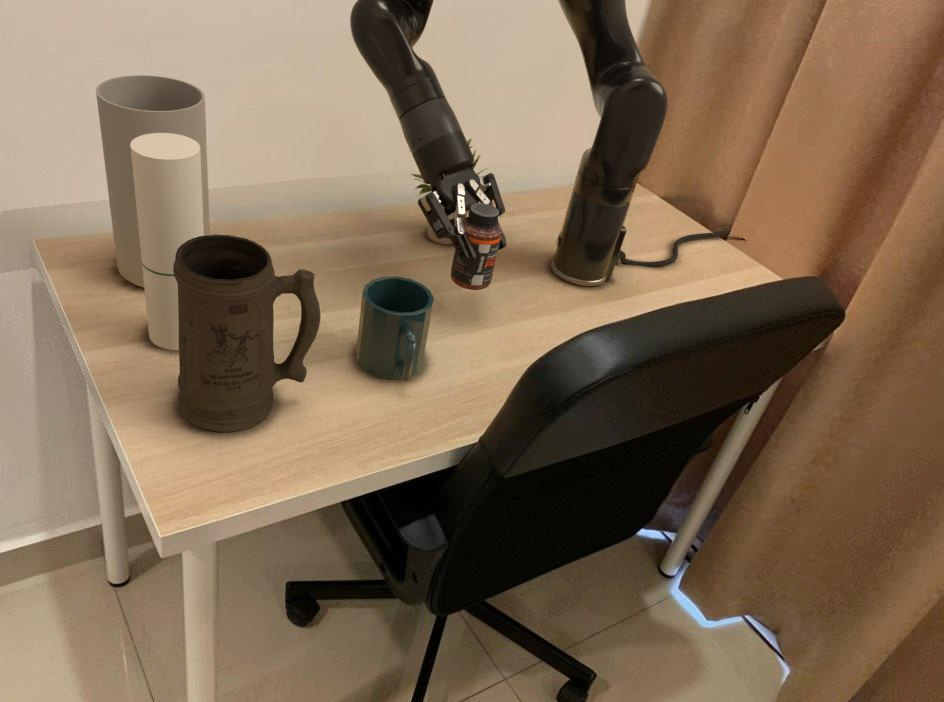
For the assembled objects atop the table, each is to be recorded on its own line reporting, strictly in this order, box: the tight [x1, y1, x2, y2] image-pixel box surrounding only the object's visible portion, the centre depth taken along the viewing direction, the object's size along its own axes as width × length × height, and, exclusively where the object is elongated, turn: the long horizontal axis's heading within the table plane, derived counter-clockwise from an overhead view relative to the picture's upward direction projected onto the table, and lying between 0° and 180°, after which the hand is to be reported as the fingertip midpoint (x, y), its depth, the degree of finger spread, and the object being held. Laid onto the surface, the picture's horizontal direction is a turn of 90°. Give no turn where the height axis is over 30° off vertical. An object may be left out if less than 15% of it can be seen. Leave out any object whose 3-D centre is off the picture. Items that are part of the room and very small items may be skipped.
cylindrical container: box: [130, 133, 204, 351], centre depth 91 cm, size 7×7×25 cm
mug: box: [355, 275, 435, 382], centre depth 97 cm, size 12×9×10 cm
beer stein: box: [173, 234, 322, 432], centre depth 85 cm, size 15×11×20 cm
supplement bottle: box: [450, 202, 503, 291], centre depth 107 cm, size 6×6×11 cm
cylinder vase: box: [95, 74, 211, 288], centre depth 102 cm, size 12×12×25 cm
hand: (486, 254), depth 106 cm, fingers closed on supplement bottle, 6 cm apart
